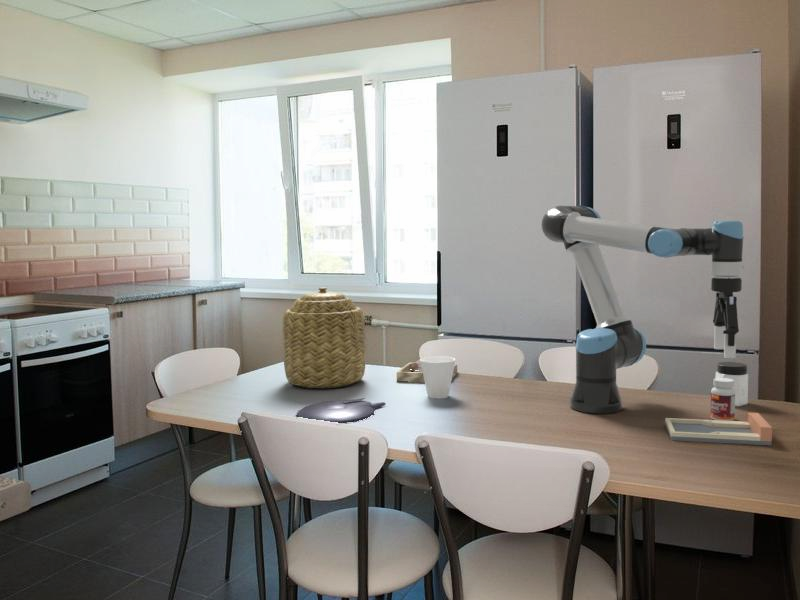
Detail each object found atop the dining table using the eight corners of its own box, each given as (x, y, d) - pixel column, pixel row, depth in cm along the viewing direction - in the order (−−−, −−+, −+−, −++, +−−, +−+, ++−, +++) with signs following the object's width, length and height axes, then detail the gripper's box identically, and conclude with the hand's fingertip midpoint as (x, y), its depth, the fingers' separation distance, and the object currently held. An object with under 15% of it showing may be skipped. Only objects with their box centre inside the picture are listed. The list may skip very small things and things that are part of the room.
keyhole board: (671, 440, 174) (671, 422, 174) (665, 425, 188) (665, 408, 187) (771, 445, 168) (772, 427, 168) (757, 429, 182) (758, 412, 182)
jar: (735, 407, 204) (736, 368, 203) (710, 402, 211) (711, 364, 210) (752, 403, 209) (753, 364, 208) (726, 398, 216) (727, 360, 215)
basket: (297, 373, 269) (294, 284, 265) (373, 374, 264) (370, 283, 261) (273, 391, 239) (269, 291, 236) (357, 392, 235) (354, 290, 231)
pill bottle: (707, 420, 192) (708, 380, 191) (714, 415, 197) (714, 376, 196) (731, 423, 188) (732, 382, 187) (737, 418, 193) (738, 379, 192)
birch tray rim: (396, 381, 250) (396, 372, 250) (409, 371, 269) (409, 362, 268) (447, 383, 246) (447, 373, 245) (457, 372, 264) (457, 363, 263)
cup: (415, 399, 223) (414, 361, 222) (427, 391, 234) (426, 355, 233) (449, 401, 219) (449, 363, 218) (460, 393, 230) (460, 356, 229)
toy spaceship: (350, 399, 227) (350, 389, 227) (401, 411, 210) (401, 400, 210) (279, 415, 208) (279, 405, 208) (329, 430, 191) (329, 419, 191)
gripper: (752, 280, 176) (750, 362, 178) (731, 274, 200) (729, 346, 202) (721, 280, 178) (718, 361, 180) (703, 274, 202) (701, 345, 204)
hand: (724, 353), depth 191 cm, fingers open, 13 cm apart
